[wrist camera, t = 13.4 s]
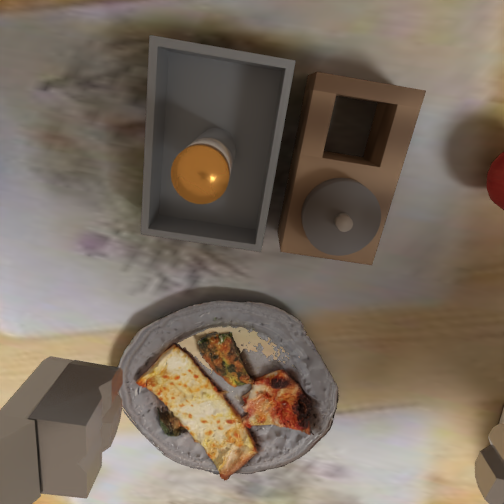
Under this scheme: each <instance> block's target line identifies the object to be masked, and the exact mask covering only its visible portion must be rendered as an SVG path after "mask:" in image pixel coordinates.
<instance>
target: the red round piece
mask: <svg viewBox="0 0 504 504" xmlns="http://www.w3.org/2000/svg"><path fill="white" fill-rule="evenodd" d="M487 191H488V193H489V196H490V199H491V200H492V201H493V202H494V203H495V204H497V205H498V206H499V207H501V208H502V209H503V210H504V152H503V153H501V154H500V155H499V156H498V157H497V158H496V159H495V160H494V161H493V162H492V164H491V166H490V169H489V171H488V173H487Z"/></svg>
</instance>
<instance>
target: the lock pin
mask: <svg viewBox="0 0 504 504" xmlns="http://www.w3.org/2000/svg"><path fill="white" fill-rule="evenodd" d="M235 153H236V144H235V141H234V139H233V137H232V136H231V135H230V134H229V133H228V132H227V131H226V130H224V129H221V128H211V129H208V130H206V131H205V132H204V133H202V134H201V135H200V136H199V137H198V138H197V139H195V140H194V141H193V142H192V143H191V144H190V145H188V146H187V147H186V148H185V149H184V150H183V151H181V152H180V153H179V154H178V155H177V157H176V158H175V159H174V161H173V164H172V167H171V180H172V184H173V186H174V188H175V190H176V191H177V193H178V194H179V195H180V196H181V197H182V198H184V199H185V200H187V201H189V202H192V203H195V204H208V203H211V202H214V201H215V200H217V199H218V198H220V197H221V196H222V195H223V193H224V192H225V190H226V188H227V186H228V182H229V178H230V174H231V170H232V165H233V161H234V157H235Z"/></svg>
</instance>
